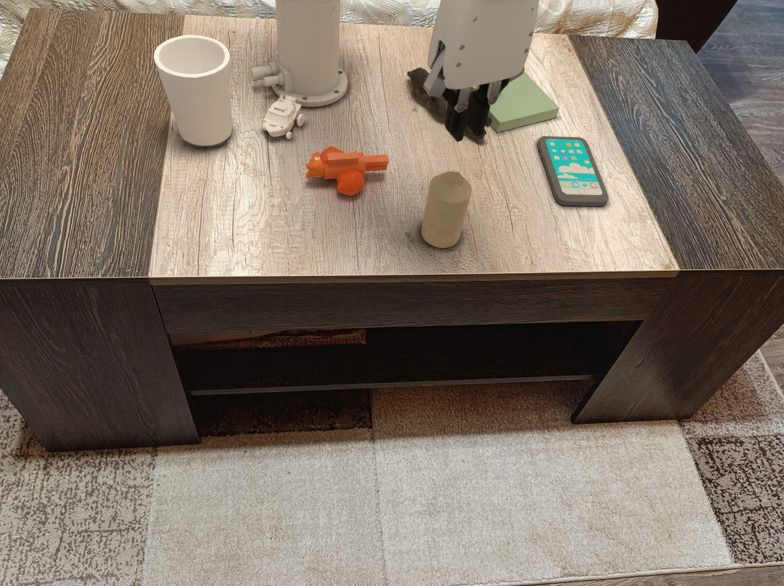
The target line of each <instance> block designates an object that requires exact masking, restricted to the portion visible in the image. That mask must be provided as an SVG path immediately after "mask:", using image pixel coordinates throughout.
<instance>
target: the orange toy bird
mask: <svg viewBox="0 0 784 586" xmlns="http://www.w3.org/2000/svg"><path fill="white" fill-rule="evenodd" d="M389 163H390V159H389V154H388V153H386V154H385V153H384V154H369V155H367V154H366V155H365V154H364V152H363V151H357V150H356V151H344V150H342V149H340V148H338V147H336V146H334V145H330V146H328V147H326V148H324V149H323V150H322V151H321V153H320V152H318V151H315V152H312V154H311V158H310V159H309V161H308V163H306V164H305V168H306V169H307V171H306V173H305V178H306V179H311V178H321V177H323V180H333V179H335V180H336V183H337V187H336V191H337V192H338V193H339V194H343V195H346V196H349V197H350V196H354V195H355V194H356V193H358V192H360V191H363V189H364V188H365V177H366V172H368V173H369V172H383V171H387V170H388V165H389Z"/></svg>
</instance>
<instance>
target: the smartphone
mask: <svg viewBox="0 0 784 586" xmlns="http://www.w3.org/2000/svg"><path fill="white" fill-rule="evenodd" d="M537 147H538V151H539V154H540V157H541V160H542V163H543V165H544V169H545V173H546V175H547V178H548V182H549V184H550V188H551V191H552V194H553V196H554V198H555V200H556V202H557V203H558V204H559V205H562V206H581V207H582V206H583V207H584V206H586V207H592V206H593V207H603V206H605V205H607V203H608V201H609V194H608V191H607V188H606V186H605V184H604V181H603V178H602V176H601V173H600V171H599V168H598V166H597V164H596V161H595V158H594V156H593V153H592V151H591V148H590V145H589V143H588V141H587V140H586V139H585V138H583V137H581V136H555V135H554V136H553V135H542V136H540V137H539V138H538V140H537Z"/></svg>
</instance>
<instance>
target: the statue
mask: <svg viewBox="0 0 784 586" xmlns="http://www.w3.org/2000/svg"><path fill="white" fill-rule="evenodd" d="M406 72H407V73H406V76H408V78H409V80H410V83H411V86H413V87H412V92H411V93H412V95H413V97H414V98H415V99H416V100H417V101H420V102H422V103H425V104H427V103H428V106H429V109H430V111H431V112H432V114H434V115H436V116H437V117H446V112H447V107H448V102H447V101H446V100H445V99H444V98H438V97H434V96H430V95H429V94H428V93H427V92H426V90H425V89H424V88H423V85H424V83H425V81H426V79H427V77H428V75H429V73H430V72H428V70H426V69H425V68H423V67H421V66H420V67H416V68H415V69H412V70H409V71H406ZM457 91H458V89H457ZM470 95H471V92H470V91H469V96H468V100H467V104H466V109H467V107H468V103H469V98H470ZM489 110H490V109H489ZM491 122H492V118H491V117H490V116H489V114H488V117H487V121H486V124H485V128H486V127H487V128H490V126H492V125H491V124H492V123H491ZM485 128H484V132H483V135H482V136H476V135H475V134H474V133H473V131H472V130H471V129H470V128H469V127H468V126H467V124H466V128H465V133H466V134H468V135H469V136H471V137H472V138H475V139H477V140H483V139H484V138H485V136H486V135H487V130H486V129H485Z"/></svg>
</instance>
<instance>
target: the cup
mask: <svg viewBox="0 0 784 586" xmlns="http://www.w3.org/2000/svg"><path fill="white" fill-rule="evenodd" d="M230 53H231V52H230V51H229V49H228V47H226V45H225V44H224V43H222V42H221V41H219V40H217V39H214V38H211V37H209V36H204V35H199V34H198V35H197V34H196V35H195V34H186V35H179V36H175V37H172V38H169V39H167V40H165V41H163V42H162V43H160V44H159V45H158V46H157V47H156V49H155V50H154V53H153V61H154V63H155V66H156V69H157V71H158V75H159V78H160V80H161V83H162V85H163V89H164V91H165V92H164V93H165V95H166V97H167V100H168V103H169V106H170V109H171V111H172V114H173V118H174V121H175V123H176V126H177V129H178V131H179V135H180V137H181V138H182V140H184V141H185V142H187V143H188V144H189V145H191V146H192V147H193V148H195V149H201V148H203V147H212V146H213V147H217V148H218V147H223V145H224V144H225V142H226V141H227V140H228V138H229V137H230V136H231V134H232V132H233V121H232V120H233V119H232V118H233V117H232V87H231V86H232V85H231V55H230Z"/></svg>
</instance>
